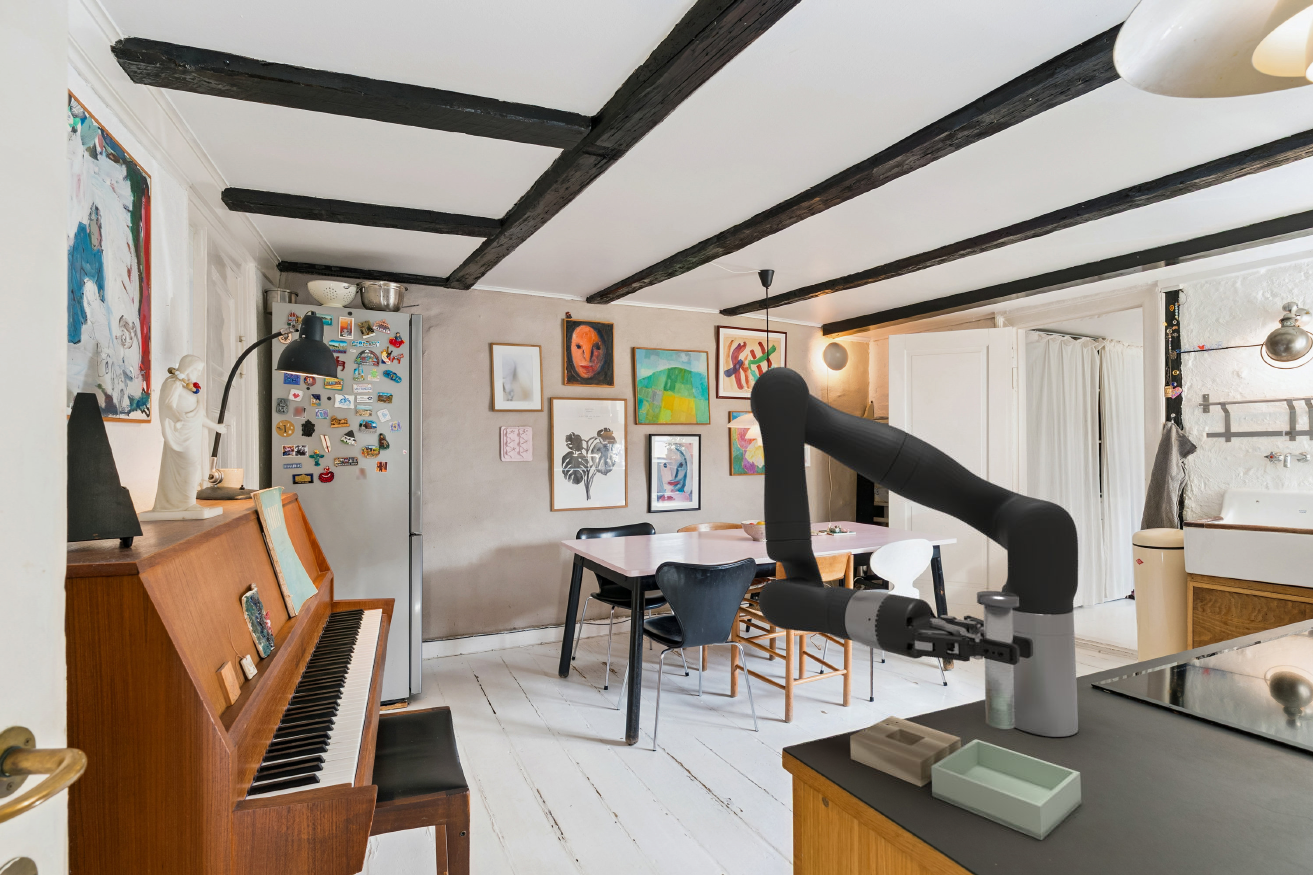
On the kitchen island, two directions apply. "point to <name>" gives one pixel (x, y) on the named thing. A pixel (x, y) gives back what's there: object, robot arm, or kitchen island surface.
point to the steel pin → (997, 673)
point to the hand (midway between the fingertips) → (1024, 651)
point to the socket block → (902, 749)
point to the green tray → (1007, 787)
